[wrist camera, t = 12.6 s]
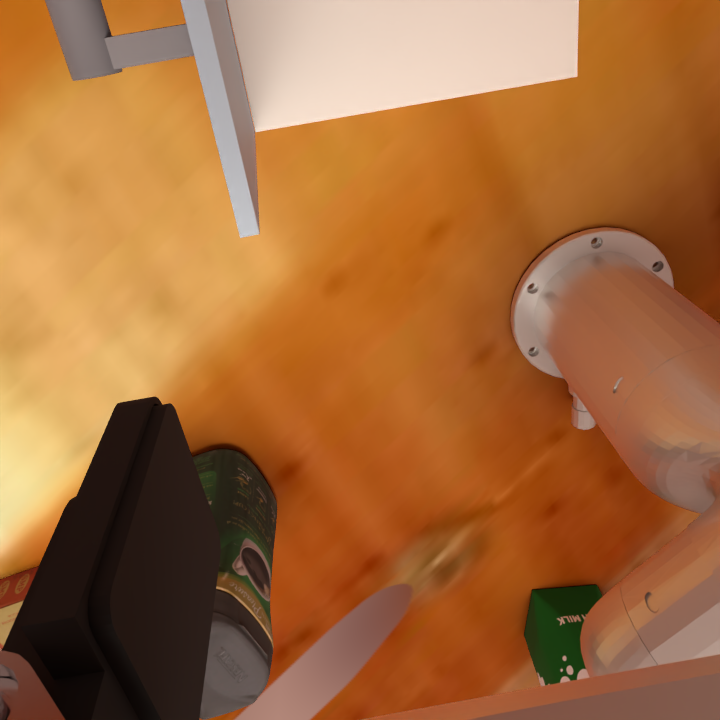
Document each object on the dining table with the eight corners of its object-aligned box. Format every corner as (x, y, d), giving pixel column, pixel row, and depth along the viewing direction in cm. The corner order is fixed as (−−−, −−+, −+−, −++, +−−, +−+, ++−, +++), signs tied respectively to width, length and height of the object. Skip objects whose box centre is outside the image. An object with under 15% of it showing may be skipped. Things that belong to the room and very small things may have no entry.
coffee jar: (154, 467, 55) (97, 664, 39) (238, 432, 54) (215, 620, 38) (212, 540, 59) (183, 744, 43) (290, 510, 58) (289, 706, 42)
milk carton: (606, 577, 67) (717, 781, 49) (591, 634, 71) (688, 840, 54) (523, 583, 66) (606, 793, 49) (514, 641, 71) (586, 852, 53)
